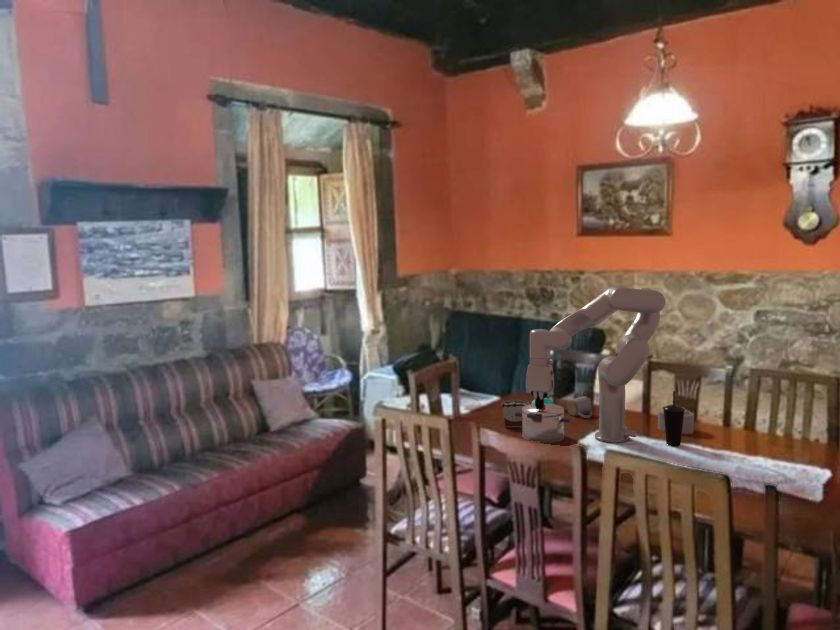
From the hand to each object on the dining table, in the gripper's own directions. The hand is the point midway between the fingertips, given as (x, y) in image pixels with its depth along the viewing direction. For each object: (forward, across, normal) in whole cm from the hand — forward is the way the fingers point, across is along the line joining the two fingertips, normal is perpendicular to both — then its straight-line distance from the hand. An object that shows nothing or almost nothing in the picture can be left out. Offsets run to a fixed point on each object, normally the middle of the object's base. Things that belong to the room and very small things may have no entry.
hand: (539, 408), depth 253 cm
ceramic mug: (+12, -4, -40) cm, 42 cm away
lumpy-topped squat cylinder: (+12, -44, -35) cm, 57 cm away
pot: (+12, 0, -3) cm, 12 cm away
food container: (+12, +16, -14) cm, 24 cm away
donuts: (+12, +16, -46) cm, 50 cm away
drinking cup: (+12, -46, -15) cm, 50 cm away
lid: (+2, 0, -2) cm, 3 cm away
